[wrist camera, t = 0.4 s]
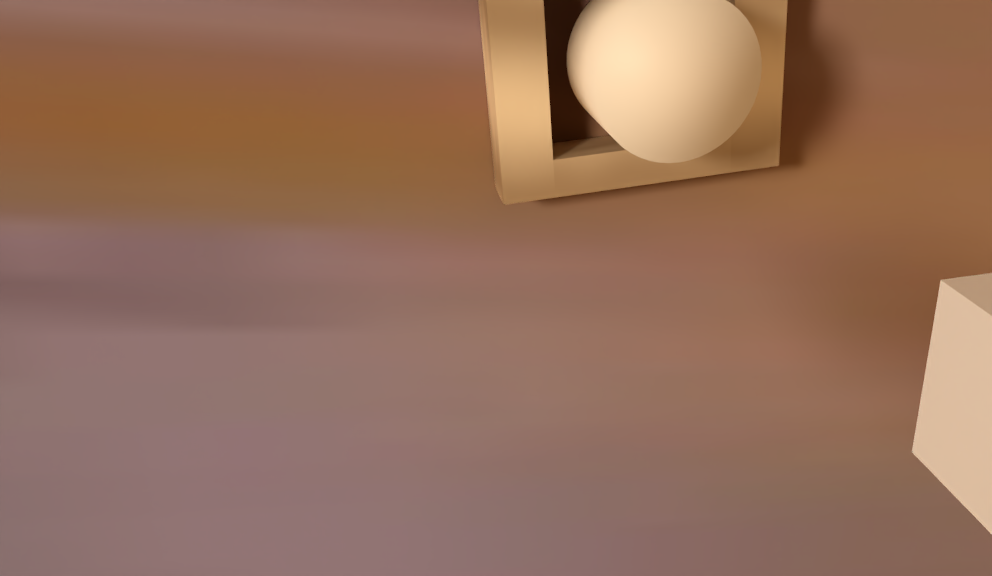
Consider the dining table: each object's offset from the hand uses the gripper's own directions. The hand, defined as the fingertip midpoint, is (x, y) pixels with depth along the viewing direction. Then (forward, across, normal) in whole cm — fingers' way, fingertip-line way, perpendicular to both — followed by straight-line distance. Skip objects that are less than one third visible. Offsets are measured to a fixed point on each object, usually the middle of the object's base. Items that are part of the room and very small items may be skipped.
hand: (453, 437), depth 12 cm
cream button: (+23, +10, -1) cm, 25 cm away
